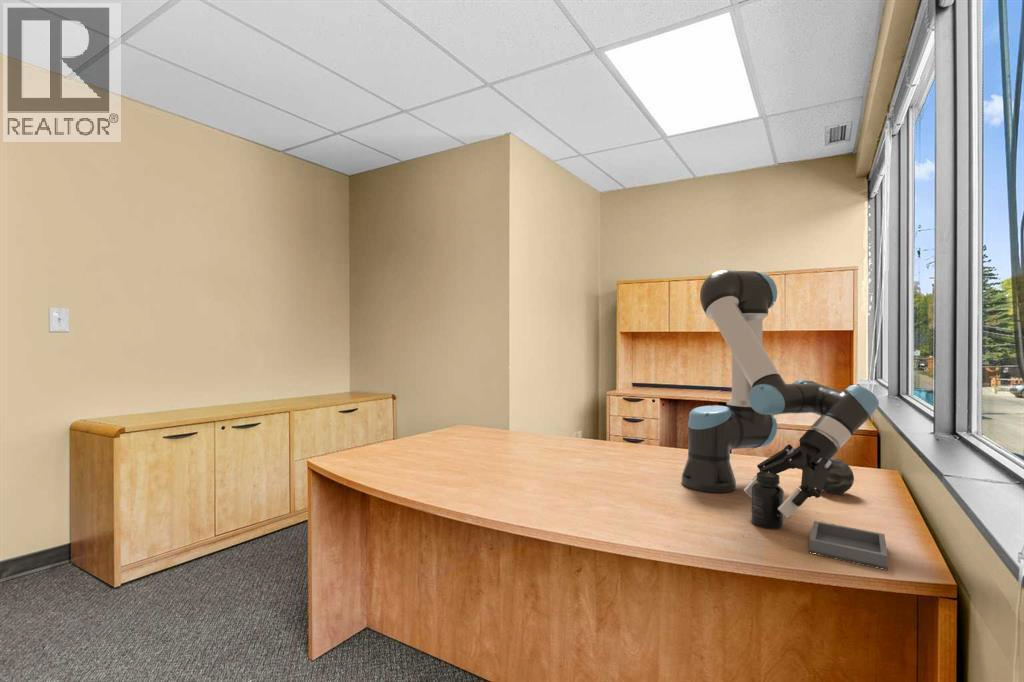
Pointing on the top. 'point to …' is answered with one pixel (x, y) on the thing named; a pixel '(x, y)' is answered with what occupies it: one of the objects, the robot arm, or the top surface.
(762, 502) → the supplement bottle
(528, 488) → the top surface
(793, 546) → the top surface
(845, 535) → the tray
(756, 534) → the top surface
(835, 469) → the decorative stone
